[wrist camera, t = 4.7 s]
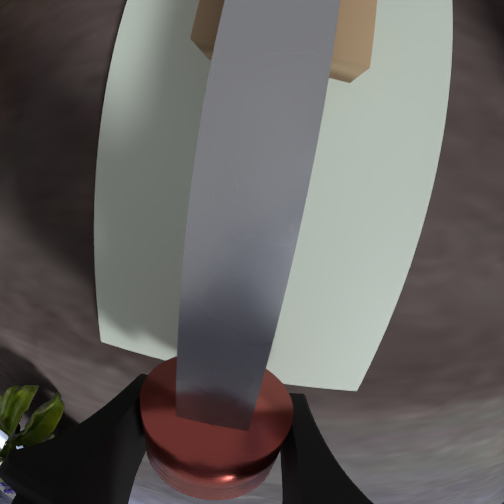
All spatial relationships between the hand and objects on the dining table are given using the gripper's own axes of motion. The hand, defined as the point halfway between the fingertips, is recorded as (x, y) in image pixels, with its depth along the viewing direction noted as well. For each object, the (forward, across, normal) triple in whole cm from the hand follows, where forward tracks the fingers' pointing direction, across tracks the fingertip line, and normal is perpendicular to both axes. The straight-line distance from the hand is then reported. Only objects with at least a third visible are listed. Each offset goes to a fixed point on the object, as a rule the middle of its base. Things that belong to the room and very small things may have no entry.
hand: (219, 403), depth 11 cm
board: (+3, -1, -13) cm, 13 cm away
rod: (+1, -1, -9) cm, 9 cm away
